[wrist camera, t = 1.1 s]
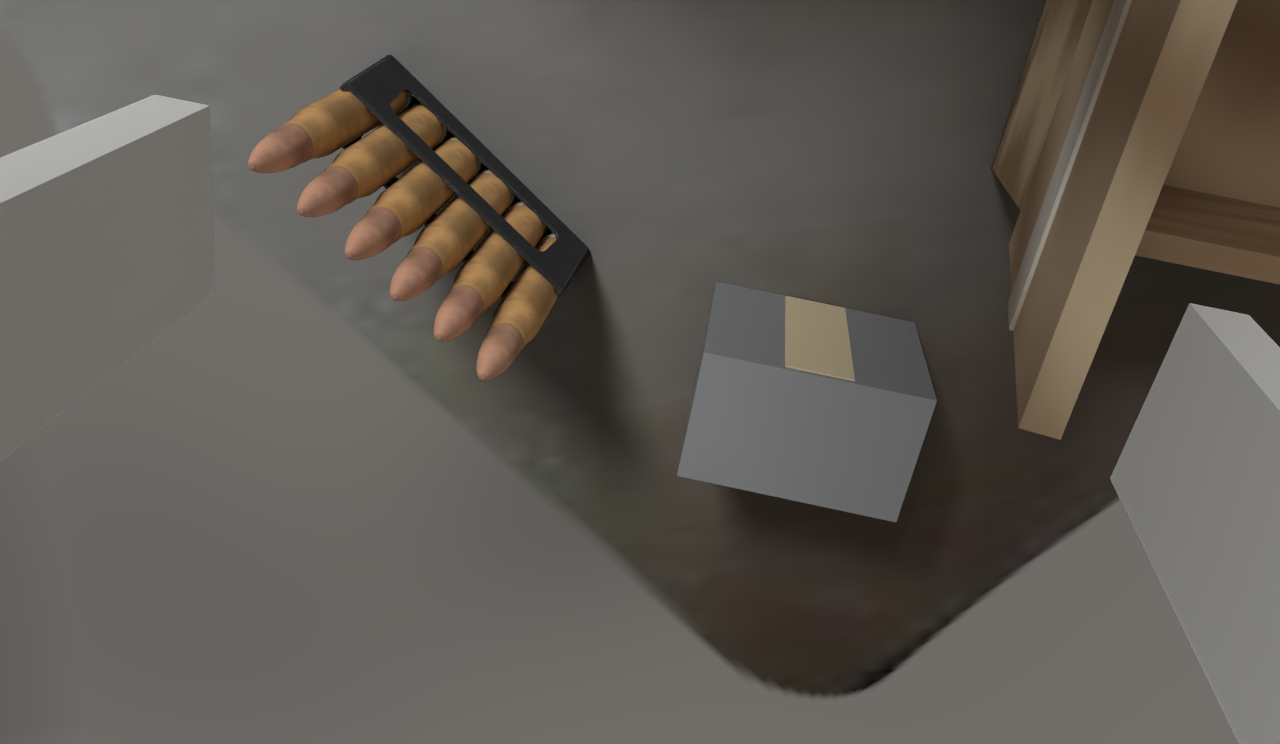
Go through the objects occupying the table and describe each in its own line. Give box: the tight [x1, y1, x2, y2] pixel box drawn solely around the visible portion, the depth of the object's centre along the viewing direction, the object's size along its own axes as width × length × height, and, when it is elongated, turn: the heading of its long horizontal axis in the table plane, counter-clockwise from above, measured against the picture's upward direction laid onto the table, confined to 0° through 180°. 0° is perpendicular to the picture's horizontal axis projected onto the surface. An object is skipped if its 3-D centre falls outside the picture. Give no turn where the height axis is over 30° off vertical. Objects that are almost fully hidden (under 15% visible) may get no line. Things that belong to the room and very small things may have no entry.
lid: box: [1008, 0, 1237, 440], centre depth 23 cm, size 15×13×1 cm
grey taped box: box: [677, 282, 937, 522], centre depth 40 cm, size 5×8×7 cm, turn 80°
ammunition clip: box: [248, 55, 590, 381], centre depth 36 cm, size 11×2×12 cm, turn 45°
